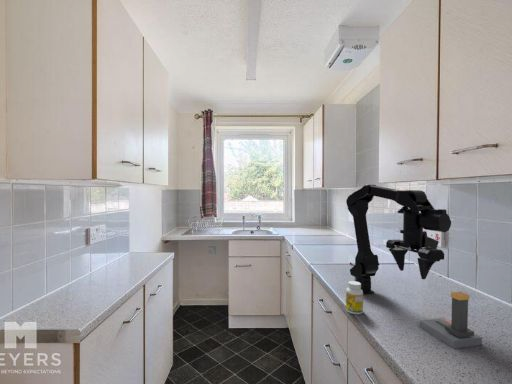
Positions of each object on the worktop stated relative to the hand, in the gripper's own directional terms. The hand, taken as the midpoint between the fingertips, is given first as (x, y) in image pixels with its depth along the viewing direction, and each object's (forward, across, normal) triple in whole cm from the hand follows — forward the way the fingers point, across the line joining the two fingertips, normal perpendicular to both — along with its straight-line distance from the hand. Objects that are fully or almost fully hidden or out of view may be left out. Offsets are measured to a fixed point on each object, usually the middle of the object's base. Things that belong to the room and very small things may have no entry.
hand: (412, 274), depth 88 cm
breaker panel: (+13, -14, 0) cm, 19 cm away
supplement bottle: (+13, +5, +18) cm, 23 cm away
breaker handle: (+11, -16, 0) cm, 20 cm away
